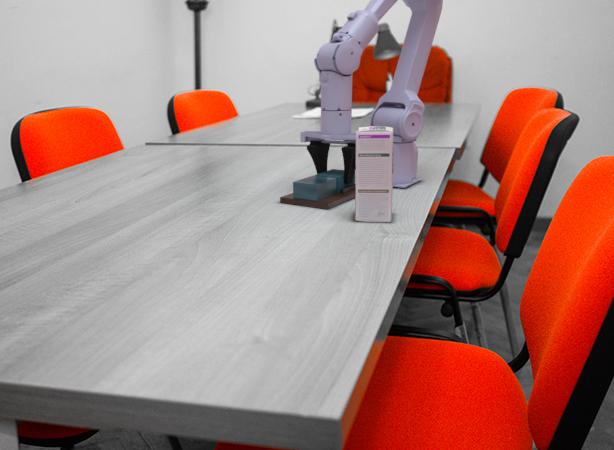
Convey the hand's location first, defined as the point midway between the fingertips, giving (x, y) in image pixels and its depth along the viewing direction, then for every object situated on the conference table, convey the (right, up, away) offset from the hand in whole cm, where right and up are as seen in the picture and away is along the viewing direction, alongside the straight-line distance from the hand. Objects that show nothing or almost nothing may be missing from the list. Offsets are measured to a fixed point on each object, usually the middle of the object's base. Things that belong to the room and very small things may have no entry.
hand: (335, 181), depth 110 cm
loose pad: (0, -1, 0) cm, 1 cm away
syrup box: (+4, -7, -17) cm, 19 cm away
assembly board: (-2, -3, -2) cm, 4 cm away
